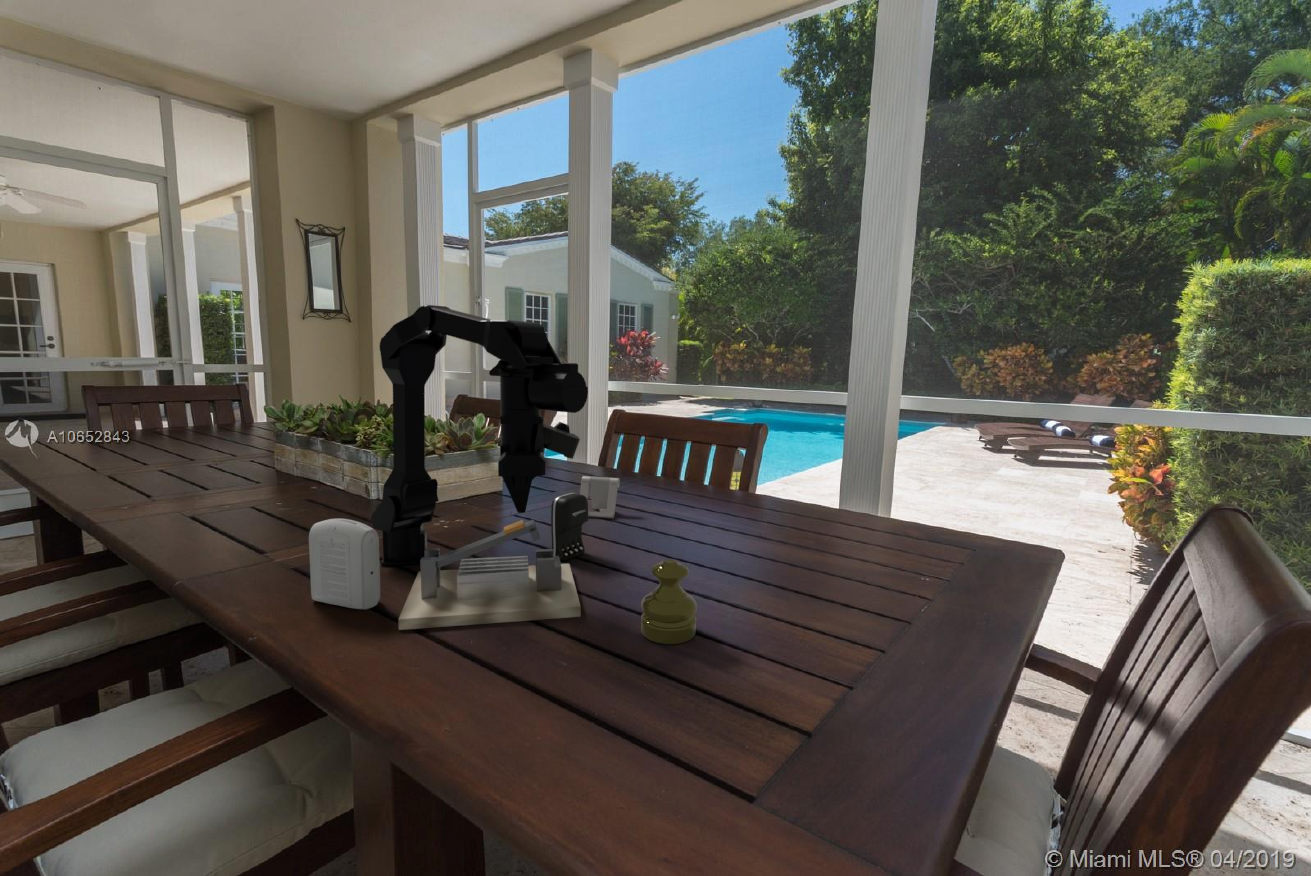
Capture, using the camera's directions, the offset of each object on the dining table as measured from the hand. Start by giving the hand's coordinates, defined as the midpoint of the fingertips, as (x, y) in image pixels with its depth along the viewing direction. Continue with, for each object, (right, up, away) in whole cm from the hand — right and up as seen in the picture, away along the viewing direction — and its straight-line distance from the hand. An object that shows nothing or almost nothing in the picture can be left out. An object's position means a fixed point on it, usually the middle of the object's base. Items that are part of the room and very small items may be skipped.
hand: (521, 512), depth 91 cm
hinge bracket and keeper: (-4, -11, +1) cm, 12 cm away
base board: (-4, -13, +1) cm, 14 cm away
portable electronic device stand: (+7, -7, +50) cm, 51 cm away
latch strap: (-5, -7, 0) cm, 8 cm away
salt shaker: (+22, -15, -9) cm, 28 cm away
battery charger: (+5, -11, +20) cm, 23 cm away
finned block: (-4, -11, +1) cm, 12 cm away
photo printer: (-25, -13, -2) cm, 28 cm away
